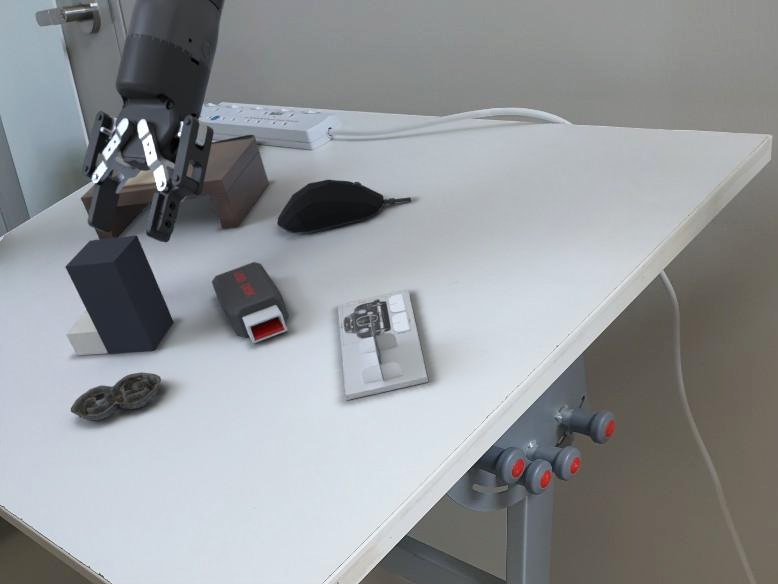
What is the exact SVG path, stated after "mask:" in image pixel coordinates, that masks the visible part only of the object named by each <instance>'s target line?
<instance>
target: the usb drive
mask: <svg viewBox="0 0 778 584" xmlns="http://www.w3.org/2000/svg"><path fill="white" fill-rule="evenodd" d="M211 285H212V287H213V291H214V293H215V296H216V298H217V301H218V302H219V304H220V306H221V309H222V310H223V312H224V313H225V316H226V318H227V320H228V322H229V324H230V326H231V327H232V329H233V331H234V333H235V334H236V335H237V336H240V337H243V338H248V337H249V338H250V340H251V342H252V343H253V344H256V343H258V342H261V341H263V340H267V339H269V338H272V337H274V336H277V335H279V334H282V333H285V332H287V331H288V328H287V325H286V323H287V321H288V318H289V313H288V309H287V306H286V303H285V299H284V296H283V295H282V292H281V291H280V290H279V288H278V287H277V286H276V284H275V283H274V281H273V279H272V278H271V276H270V275H269V273H268V272H267V271H266V269H265V268H264V266H263V264H261V263H259V262H256V261H253V262H250V263H248V264H245V265H242V266H239V267H236V268H233V269H230V270H228V271H225V272H223V273H220V274H217V275H215V276H214V278H213V279H212V280H211Z"/></svg>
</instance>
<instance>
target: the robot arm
mask: <svg viewBox="0 0 778 584" xmlns="http://www.w3.org/2000/svg"><path fill="white" fill-rule="evenodd" d="M225 2H226V0H135V1H134V4H133V7H132V10H131V13H130V14H131V15H130V18H129V22H128V27H127V30H126V31H127V32H126V35H125V40H124V44H123V49H122V52H121V56H120V61H119V66H118V71H117V74H116V79H115V83H114V84H115V85H114V86H115V89H116V92H117V93H118V95H119V96H120V98H121V99H122V103H123V105H122V107H121V110H120V112H119V113H118V115H117V117H114V116H112V115H110V114H108V113H106V112H105V111H103V110H99V111H98V112H97V113H96V115H95V118H94V122H93V126H92V129H91V134H90V137H89V141H88V145H87V149H86V152H85V156H84V161H83V163H82V167H81V173H82V175H83V176H85V177H87V178H89V179H90V180H91V182H92V183H93V185H94V192H93V196H92V201H91V205H90V209H89V214H88V213H87V215H88V216H87V217H88V218H87V224H88V226H89V227H91V228H92V229H94V228H95V229H97V230H100V231H102V232H110V231H111V230H112V226H113V222H114V217H115V213H116V209H117V204H118V200H119V196H120V195H119V194H117V193H118V192H119V191H120V190H121V189H122V187H123V186H124V185H125V183H126V182H127V181H128V179H129V178H134V177H136V176H137V175H138V174H139V172H140V171H141V170H142V171H148V170H152V171H153V173H154V177H155V182H156V186H157V189H158V191H160V193H155V192H154V196H153V200H152V202H151V206H150V209H149V214H148V216H147V217H148V218H147V222H146V226H145V234H146V236H147V237H148V238H151V239H154V240H155V241H158V242H160V243H161V242H162V243H169V241H170V240H171V236H172V235H173V232H174V230H175V225H176V222H177V221H176V220H177V217H178V213H179V210H180V205H181V202H184V201H185V200H186V199H187V198H186V197H187V196H189V195H191V194H192V195H194V196H197V197H200V196H199V195H200V194H201V192H202V189H203V184H204V179H205V174H206V169H207V164H208V159H209V154H210V149H211V144H212V142H213V139H214V134H215V133H214V129H213V128H212V127H211V126H209V125H208V124H206V123H205V122H203V121H202V120H200V117H201V114H202V111H203V105H204V101H205V97H206V93H207V89H208V86H209V80H210V77H211V73H212V69H213V64H214V60H215V57H216V56H215V55H216V52H217V48H218V43H219V35H220V34H219V32H220V25H221V19H222V15H223V10H224V7H225ZM119 153H120V156H121V157H120V156H118V155H119ZM99 155H101V157H102V161H101V162H100V163H99V165H96V164H97V161H98V157H99ZM122 158H123V159H122ZM189 163H190V164H192V166H193V171H192V176H191V178H190V177H188V176H186V175H187V170H188V165H189ZM114 169H115V170H117V171H118V172H117V174H116V175H115V176H114V177H112V175H113V171H114ZM95 229H94V230H95Z"/></svg>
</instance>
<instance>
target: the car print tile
mask: <svg viewBox="0 0 778 584" xmlns="http://www.w3.org/2000/svg"><path fill="white" fill-rule="evenodd" d="M337 315H338V329H339V340H340V350H341V363H342V374H343V386H344V396H345V397H344V398H345V400H346V401H349V400H350V401H351V400H354V399H358V398H363V397H368V396H372V395H377V394H381V393H385V392H390V391H394V390H399V389H403V388H408V387H412V386H416V385H421V384H425V383H429V378H428V373H427V369H426V365H425V360H424V354H423V351H422V345H421V341H420V337H419V332H418V328H417V323H416V319H415V314H414V309H413V305H412V300H411V295H410V291H409V289H405V290H401V291H396V292H392V293H387V294H383V295H379V296H375V297H371V298H366V299H362V300H358V301H353V302H349V303H344V304H340V305H337Z"/></svg>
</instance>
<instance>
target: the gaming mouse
mask: <svg viewBox="0 0 778 584" xmlns="http://www.w3.org/2000/svg"><path fill="white" fill-rule="evenodd" d="M411 201H412V197H410V196H409V197H404V198H403V197H401V198H395V197H391V198H388V199H387V198H384V195H383V194H381V193H379V192H377V191H375V190H374V189H371V188H370V187H367V186H365V185H364V184H363V185H362V183H361V182H359V181H354V182H352V181H349V180H339V179H324V180H318V181H313V182H309V183H308V184H306V185H304V186H303V187H301V189H299V190H297V191H295V192H294V193H292V195H291V197H290V198H289V199H288V201H287V203H286V205H285V206H284V207H283V209H282V210H281V212H280V214H279V215H278V217H277V222H276V225H277V226H278V227H279V228H280V229H283V230H285V231H287V232H289V233H290V232H291V233H294V234H295V233H296V234H308V233H314V232H319V231H323V230H328V229H331V228H335V227H339V226H344V225H349V224H353V223H356V222H360V221H365V220H367V219H369V218H371V217H373V216H376V214H377V213H379V211H380V210H382V208H383V207H384V206H385V205H394V204H396V203H405V202H411Z"/></svg>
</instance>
